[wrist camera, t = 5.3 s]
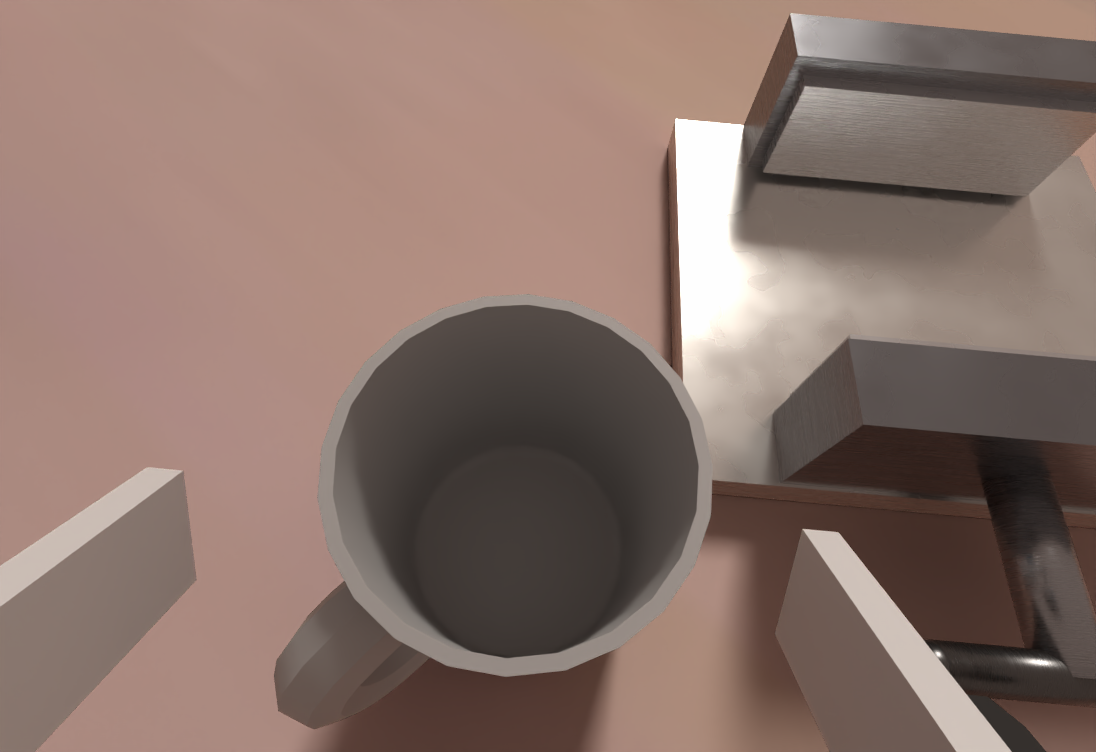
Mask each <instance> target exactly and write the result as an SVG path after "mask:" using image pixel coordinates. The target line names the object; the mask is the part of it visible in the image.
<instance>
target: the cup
mask: <svg viewBox="0 0 1096 752" xmlns="http://www.w3.org/2000/svg"><path fill="white" fill-rule="evenodd" d="M712 473H713V465H712V460H711V456H710V451H709V447H708V443H707V438H706V434H705V430H704V425H703V421H702V418H701V416H700V414H699V412H698V410H697V408H696V406H695V405H694V403H693V401H692V399H691V397H690V395H689V393H688V391H687V389H686V387H685V386H684V384H683V382H682V380H681V378H680V377H679V376H678V374H677V373H676V372H675V371H674V370H673V369H672V368H671V367H670V365H669V364H668V363H667V362H666V361H665V360H664V359H663V357H662V356H661V355H660V354H659V353H658V352H657V351H656V350H655V348H654V347H653V346H652V345H651V344H650V343H649V342H647V341H646V340H644V339H643V338H641V337H640V336H639V335H637V334H636V333H634V332H633V331H631V330H630V329H628V328H627V327H626V326H624V325H623V324H621V323H620V322H618V321H617V320H616V319H614V318H612V317H610V316H607V315H605V314H602V313H600V312H597V311H595V310H592V309H590V308H587V307H585V306H582V305H580V304H578V303H575V302H573V301H567V300H561V299H555V298H548V297H542V296H536V295H530V294H524V295H505V296H486V297H481V298H477V299H474V300H470V301H467V302H463V303H460V304H456V305H453V306H449V307H446V308H442V309H439V310H438V311H436V312H434V313H432V314H430V315H428V316H426V317H425V318H423V319H421V320H419V321H417V322H415V323H414V324H412V325H410V326H408V327H406V328H404V329H402V330H401V331H399V332H398V333H397V334H396V335H395V336H394V337H393V338H392V339H390V340H389V341H388V342H387V343H386V344H385V345H384V346H383V347H381V348H380V349H379V350H378V351H377V352H376V353H375V354H374V355H372V356H371V357H370V358H369V359H368V360H367V361H366V362H365V363H364V365H363V366H362V368H361V369H360V370H359V372H358V373H357V375H356V376H355V378H354V379H353V381H352V382H351V383H350V385H349V386H348V388H347V389H346V391H345V392H344V394H343V395H342V396H341V398H340V399H339V401H338V403H337V406H336V409H335V412H334V414H333V417H332V420H331V423H330V426H329V428H328V431H327V434H326V437H325V439H324V442H323V445H322V449H321V461H320V473H319V485H318V497H317V498H318V503H319V508H320V513H321V518H322V523H323V527H324V532H325V537H326V542H327V547H328V551H329V552H330V554H331V556H332V558H333V560H334V562H335V564H336V566H337V567H338V569H339V571H340V573H341V575H342V577H343V579H344V582H343V583H341V584H340V585H339V586H338V587H337V588H336V589H334V590H333V591H332V592H331V593H330V594H329V595H328V596H327V597H326V598H325V599H324V600H323V601H322V602H321V603H320V604H319V605H318V606H317V607H316V608H315V609H314V610H313V611H312V612H311V613H310V614H309V615H308V617H307V618H306V620H305V621H304V622H303V624H302V625H301V627H300V628H299V629H298V631H297V632H296V634H295V635H294V637H293V638H292V639H291V641H290V642H289V644H288V645H287V646H286V648H285V649H284V651H283V652H282V654H281V655H280V656H279V658H278V659H277V661H276V667H275V673H274V681H275V689H276V697H277V705H278V711H279V712H281V713H283V714H285V715H287V716H289V717H291V718H293V719H294V720H296V721H298V722H300V723H302V724H304V725H306V726H308V727H310V728H312V729H317V728H320V727H323V726H327V725H329V724H332V723H334V722H337V721H339V720H342V719H344V718H347V717H350V716H352V715H355V714H357V713H359V712H360V711H362V710H364V709H366V708H368V707H370V706H371V705H373V704H374V703H375V702H377V701H378V700H380V699H381V698H383V697H384V696H386V695H387V694H388V693H390V692H391V691H392V690H393V689H395V688H396V687H397V686H398V685H399V684H401V683H402V682H403V681H404V680H406V679H407V678H408V677H409V676H410V675H411V674H412V673H414V672H415V671H416V670H417V669H418V668H419V667H420V666H421V665H423V664H424V663H425V662H426V661H427V660H428V659H429V658H430V657H431V658H433V659H434V660H436V661H438V662H440V663H442V664H444V665H446V666H450V667H455V668H460V669H466V670H471V671H477V672H482V673H487V674H493V675H498V676H503V677H509V676H519V675H528V674H537V673H547V672H556V671H565V670H568V669H570V668H572V667H575V666H577V665H579V664H582V663H584V662H587V661H589V660H591V659H594V658H596V657H598V656H601V655H603V654H605V653H608V652H610V651H612V650H615V649H617V648H619V647H621V646H622V645H623V644H624V643H626V642H627V641H628V640H629V639H630V638H632V637H633V636H634V635H635V634H637V633H638V632H639V631H640V630H641V629H643V628H644V627H645V626H646V625H648V624H649V623H650V622H651V621H652V620H654V619H655V618H656V617H657V616H659V615H660V614H661V613H662V612H663V611H664V610H665V609H666V607H667V606H668V604H669V603H670V601H671V600H672V598H673V597H674V595H675V594H676V592H677V591H678V589H679V588H680V587H681V585H682V584H683V582H684V581H685V579H686V578H687V576H688V575H689V573H690V572H691V570H692V569H693V567H694V566H695V563H696V560H697V557H698V554H699V551H700V548H701V545H702V542H703V538H704V535H705V532H706V529H707V526H708V523H709V520H710V517H711V500H712Z"/></svg>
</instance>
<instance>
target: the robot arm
mask: <svg viewBox="0 0 1096 752" xmlns="http://www.w3.org/2000/svg"><path fill="white" fill-rule="evenodd" d="M195 581H196V572H195V564H194V556H193V547H192V539H191V531H190V522H189V514H188V506H187V497H186V489H185V481H184V472H183V471H182V470H171V469H160V468H150V467H147V468H145V469H144V470H142V471H141V472H139V473H138V474H136V475H135V476H133V477H132V478H130V479H129V480H127V481H126V482H124V483H123V484H121V485H120V486H118V487H117V488H116V489H114V490H113V491H111V492H110V493H108V494H107V495H105V496H104V497H102V498H101V499H99V500H98V501H96V502H95V503H93V504H92V505H90V506H89V507H87V508H86V509H84V510H83V511H81V512H80V513H78V514H77V515H75V516H74V517H72V518H71V519H69V520H68V521H66V522H65V523H63V524H62V525H60V526H59V527H57V528H56V529H54V530H53V531H51V532H50V533H48V534H47V535H45V536H44V537H42V538H41V539H40V540H38V541H37V542H35V543H34V544H32V545H31V546H29V547H28V548H26V549H25V550H23V551H22V552H20V553H19V554H17V555H16V556H14V557H13V558H11V559H10V560H8V561H7V562H5V563H4V564H2V565H1V566H0V752H35V751H36V750H37V749H38V748H39V747H40V746H41V745H42V744H43V743H44V742H45V741H46V740H47V739H48V737H49V736H50V735H51V734H52V733H53V732H54V731H55V730H56V729H57V728H58V727H59V726H60V725H61V724H62V723H63V722H64V720H65V719H66V718H67V717H68V716H69V715H70V714H71V713H72V712H73V711H74V710H75V709H76V708H77V707H78V706H79V704H80V703H81V702H82V701H83V700H84V699H85V698H86V697H87V696H88V695H89V694H90V693H91V692H92V691H93V690H94V688H95V687H96V686H97V685H98V684H99V683H100V682H101V681H102V680H103V679H104V678H105V677H106V676H107V675H108V674H109V672H110V671H111V670H112V669H113V668H114V667H115V666H116V665H117V664H118V663H119V662H120V661H121V660H122V659H123V658H124V656H125V655H126V654H127V653H128V652H129V651H130V650H131V649H132V648H133V647H134V646H135V645H136V644H137V643H138V642H139V641H140V639H141V638H142V637H143V636H144V635H145V634H146V633H147V632H148V631H149V630H150V629H151V628H152V627H153V626H154V625H155V623H156V622H157V621H158V620H159V619H160V618H161V617H162V616H163V615H164V614H165V613H166V612H167V611H168V610H169V609H170V607H171V606H172V605H173V604H174V603H175V602H176V601H177V600H178V599H179V598H180V597H181V596H182V595H183V594H184V593H185V591H186V590H187V589H188V588H189V587H190V586H191V585H192V584H193V583H194V582H195ZM775 636H776V638H777V640H778V642H779V644H780V646H781V649H782V651H783V653H784V655H785V657H786V659H787V661H788V664H789V666H790V668H791V670H792V672H793V674H794V676H795V679H796V681H797V683H798V685H799V687H800V689H801V691H802V694H803V696H804V698H805V700H806V702H807V704H808V706H809V709H810V711H811V713H812V715H813V717H814V719H815V721H816V724H817V726H818V728H819V730H820V732H821V734H822V736H823V739H824V741H825V743H826V745H827V747H828V749H829V751H830V752H1046V751H1045V750H1044V749H1043V747H1042V746H1041V745H1040V744H1039V743H1038V742H1037V740H1036V739H1035V738H1034V737H1033V736H1032V734H1031V733H1030V732H1029V731H1028V730H1027V729H1026V727H1025V726H1023V725H1022V724H1021V723H1020V722H1019V721H1017V720H1016V719H1015V718H1014V717H1012V716H1011V715H1010V714H1009V713H1007V712H1006V711H1005V710H1004V709H1002V708H1001V707H1000V706H999V705H997V704H996V703H995V702H994V701H992V700H991V699H990V698H989V697H986V696H976V695H967V694H966V693H965V692H964V691H963V689H962V688H961V687H960V686H959V684H958V683H957V682H956V681H955V679H954V678H953V677H952V675H951V674H950V673H949V672H948V670H947V669H946V668H945V667H944V665H943V664H942V663H941V662H940V660H939V659H938V658H937V656H936V655H935V654H934V653H933V651H932V650H931V649H930V648H929V646H928V645H927V644H926V643H925V641H924V640H923V639H922V637H921V636H920V635H919V634H918V632H917V631H916V630H915V629H914V627H913V626H912V625H911V624H910V622H909V621H908V620H907V618H906V617H905V616H904V615H903V613H902V612H901V611H900V610H899V608H898V607H897V606H896V605H895V603H894V602H893V601H892V599H891V598H890V597H889V596H888V594H887V593H886V592H885V591H884V589H883V588H882V587H881V586H880V584H879V583H878V582H877V580H876V579H875V578H874V577H873V575H872V574H871V573H870V572H869V570H868V569H867V568H866V566H865V565H864V564H863V563H862V561H861V560H860V559H859V558H858V556H857V555H856V554H855V553H854V551H853V550H852V549H851V547H850V546H849V545H848V544H847V542H846V541H845V540H844V539H843V537H842V536H841V535H840V534H839V532H831V531H820V530H810V529H802V532H801V536H800V540H799V543H798V547H797V551H796V555H795V559H794V563H793V566H792V570H791V574H790V578H789V582H788V585H787V589H786V593H785V597H784V601H783V605H782V608H781V612H780V616H779V620H778V624H777V627H776V631H775Z"/></svg>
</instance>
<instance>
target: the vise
mask: <svg viewBox="0 0 1096 752" xmlns="http://www.w3.org/2000/svg"><path fill="white" fill-rule="evenodd" d="M1095 133H1096V42H1095V41H1085V40H1074V39H1063V38H1052V37H1041V36H1031V35H1020V34H1009V33H998V32H987V31H977V30H966V29H955V28H944V27H934V26H923V25H912V24H901V23H890V22H880V21H869V20H858V19H847V18H836V17H826V16H815V15H804V14H793V13H790V15H789V18H788V20H787V22H786V25H785V27H784V30H783V32H782V35H781V37H780V39H779V42H778V44H777V47H776V49H775V51H774V54H773V56H772V59H771V61H770V63H769V66H768V68H767V71H766V73H765V76H764V78H763V80H762V83H761V85H760V88H759V90H758V92H757V95H756V97H755V100H754V102H753V104H752V107H751V109H750V112H749V114H748V117H747V119H746V121H745V124H744V125H734V124H723V123H712V122H701V121H690V120H680V119H676V120H675V123H674V127H673V130H672V134H671V137H670V141H669V144H668V174H669V227H670V279H671V331H672V369H673V370H674V371H675V372H676V373H677V374H678V376H679V377H680V378H681V380H682V382H683V384H684V386H685V387H686V389H687V391H688V393H689V395H690V397H691V399H692V401H693V403H694V405H695V406H696V408H697V410H698V412H699V414H700V416H701V418H702V421H703V425H704V430H705V434H706V438H707V443H708V447H709V451H710V456H711V460H712V465H713V473H712V494H719V495H730V496H741V497H752V498H763V499H774V500H786V501H797V502H808V503H819V504H830V505H841V506H852V507H863V508H874V509H885V510H897V511H908V512H919V513H930V514H941V515H952V516H963V517H974V518H985V519H991V521H992V525H993V529H994V532H995V536H996V540H997V544H998V548H999V551H1000V555H1001V559H1002V563H1003V566H1004V570H1005V574H1006V578H1007V582H1008V585H1009V589H1010V593H1011V597H1012V601H1013V604H1014V608H1015V612H1016V616H1017V620H1018V623H1019V627H1020V631H1021V635H1022V639H1023V642H1024V646H1025V648H1019V647H1007V646H996V645H985V644H974V643H963V642H952V641H940V640H929V639H925V640H924V641H925V643H926V644H927V645H928V646H929V648H930V649H931V650H932V651H933V653H934V654H935V655H936V656H937V658H938V659H939V660H940V662H941V663H942V664H943V665H944V667H945V668H946V669H947V670H948V672H949V673H950V674H951V675H952V677H953V678H954V679H955V681H956V682H957V683H958V684H959V686H960V687H961V688H962V689H963V691H964V692H965V693H966V694H967V695H976V696H986V697H989V698H995V699H1006V700H1017V701H1028V702H1039V703H1051V704H1062V705H1073V706H1084V707H1096V614H1095V611H1094V608H1093V605H1092V602H1091V598H1090V595H1089V592H1088V589H1087V586H1086V583H1085V580H1084V577H1083V574H1082V570H1081V567H1080V564H1079V561H1078V558H1077V555H1076V552H1075V549H1074V545H1073V542H1072V539H1071V536H1070V533H1069V530H1068V527H1067V526H1074V527H1085V528H1096V192H1095V190H1094V188H1093V185H1092V183H1091V181H1090V179H1089V177H1088V175H1087V172H1086V170H1085V168H1084V166H1083V164H1082V162H1081V159H1080V157H1079V156H1071V155H1072V154H1073V153H1074V152H1075V151H1076V150H1077V149H1078V148H1079V147H1081V146H1082V145H1083V144H1084V143H1085V142H1086V141H1087V140H1088V139H1089V138H1090V137H1091V136H1092V135H1093V134H1095Z"/></svg>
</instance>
